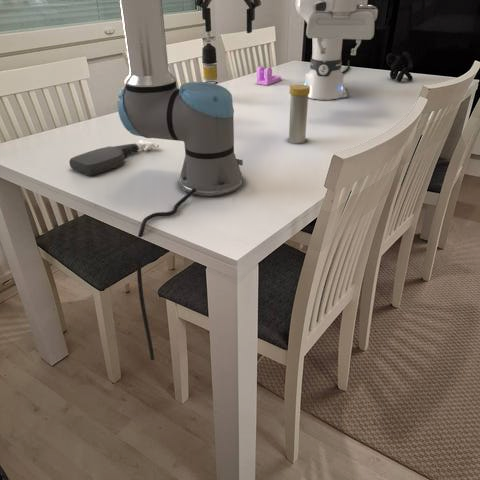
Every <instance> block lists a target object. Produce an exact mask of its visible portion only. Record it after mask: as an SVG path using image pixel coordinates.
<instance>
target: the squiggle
mask: <svg viewBox="0 0 480 480" xmlns="http://www.w3.org/2000/svg"><path fill="white" fill-rule="evenodd" d="M401 57H402V59H401ZM391 59H392V60H391ZM393 60H394V61H393ZM385 61H386V64H387V67H390V68H391V70H390V72H389V78H390V79H391V80H395V79H396V81H397V82H399V83H400V82H402V81H403V79H404V76H406V78H407V80H408V81H412V80H413V79H414V77H413V75H412V74H411V73H410V72H409V71H410V70H412V69H413V68H414V64H413V61H412V57H411V54H410V53H409V52H408V51H403V53H402V54H401V55H396V54H394V53H392V52H390V53H387V55H386V57H385ZM406 62H407V65H408V66H407V67H405V66H404V65H405V64H406ZM400 70H401V71H400Z"/></svg>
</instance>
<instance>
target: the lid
mask: <svg viewBox="0 0 480 480" xmlns="http://www.w3.org/2000/svg"><path fill="white" fill-rule="evenodd" d="M309 93H310V87H309V86H307V85H304V84H292V85H290V86H289V95H290V96H291V95H295V96H305V95H308V94H309Z"/></svg>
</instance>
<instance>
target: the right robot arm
mask: <svg viewBox="0 0 480 480" xmlns="http://www.w3.org/2000/svg"><path fill="white" fill-rule="evenodd" d="M368 2H369V1H368V0H294V7H295V10H296V12H297V14H298V15H299V17H300V18H302V20H304V21H305V23H306V24H307V25H306V32H305V33H306V34H305V35H306V37H307V38H308V39H312V42H311V43H312V46H311V47H312V50H311V51H312V52H311V53H312V54H311V58H310V62H309V64H310V65H309V68H310V70H308V72H306V73H305V79H304V84H303V85H307V86H309V87H310V93H309V94H308V99H311V100H312V99H314V100H320V101H324V100H325V101H326V100H327V101H329V100H331V101H332V100H337V99H342V98H343V99H345V98H347V97H348V93H347V90H346V87H345V83H344V78H345V75H344V74H345V73H346V72H348V71H349V69H350V68H351V66H350V64H351V60H350V59H348V60H347V64H346V65H347V67H346V68H345V69H344V70H343V71H342V70H341V69H342V65H343V62H342V61H343V59H342V50H343V40H355V44H356V45H355V47H353V48H351V49H350V56H356V55H357V49H358V48H359V47H360V45H361V43H362V41H363V40H364V41H365V40H366V41H369V40H370V41H371V40H372V39H373V38H374V37H375V22H376V21H377V19H378V16H379V15H378V14H379V9H378V8H377V6H374V4H368Z"/></svg>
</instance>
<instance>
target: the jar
mask: <svg viewBox="0 0 480 480" xmlns="http://www.w3.org/2000/svg"><path fill="white" fill-rule="evenodd" d="M308 102H309V97H308V95H305V96H295V95H291V94H290V102H289V124H288V125H289V126H288V142H289V143H291V144H304V143H305V142H306V136H307V122H308V121H307V120H308V104H309V103H308Z"/></svg>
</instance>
